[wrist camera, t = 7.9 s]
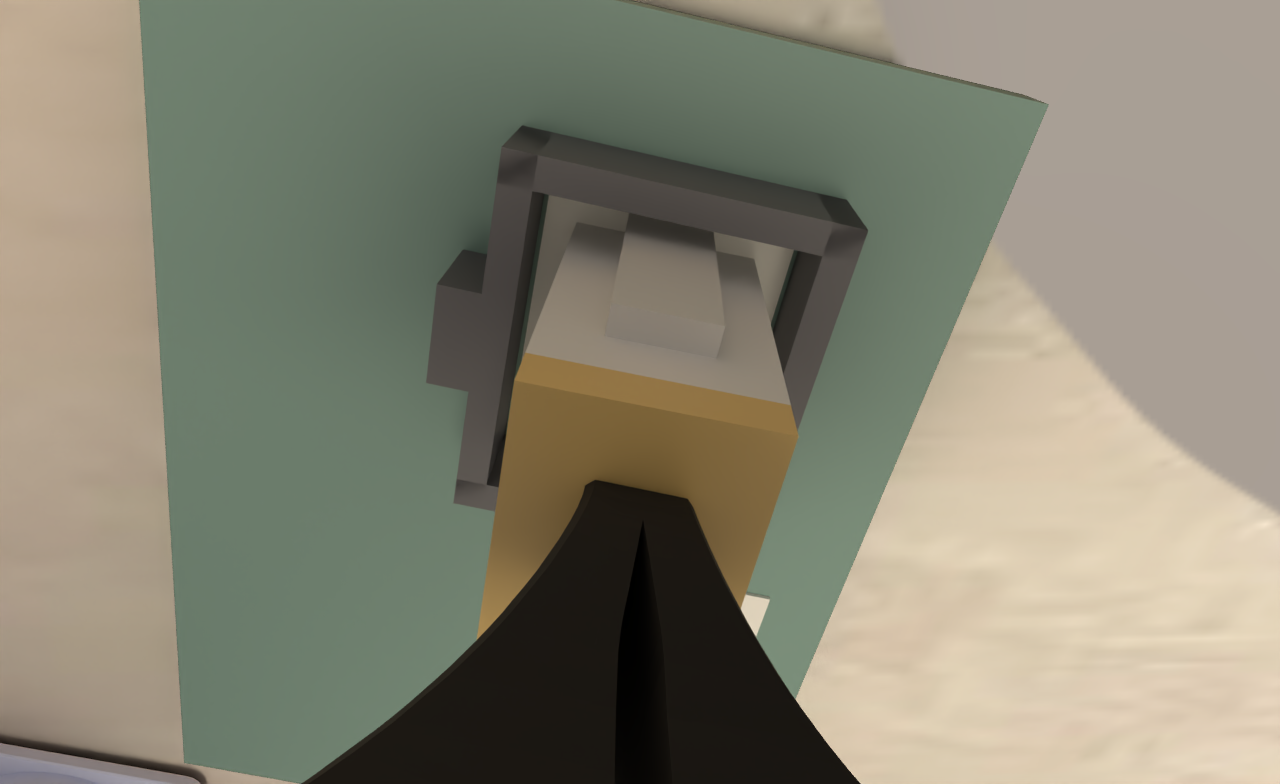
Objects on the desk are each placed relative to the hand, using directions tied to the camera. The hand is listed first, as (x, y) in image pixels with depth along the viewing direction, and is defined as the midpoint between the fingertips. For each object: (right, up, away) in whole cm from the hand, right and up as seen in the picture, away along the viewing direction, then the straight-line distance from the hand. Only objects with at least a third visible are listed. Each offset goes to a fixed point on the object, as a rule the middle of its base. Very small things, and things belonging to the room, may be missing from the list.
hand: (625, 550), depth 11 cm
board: (-3, 0, +9) cm, 10 cm away
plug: (0, +3, +6) cm, 7 cm away
